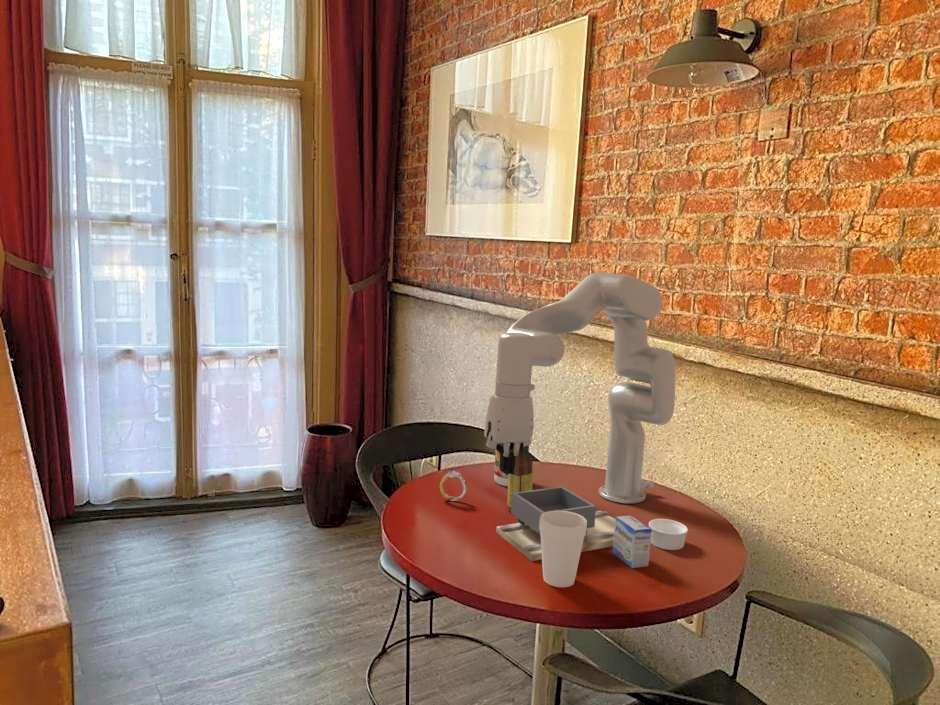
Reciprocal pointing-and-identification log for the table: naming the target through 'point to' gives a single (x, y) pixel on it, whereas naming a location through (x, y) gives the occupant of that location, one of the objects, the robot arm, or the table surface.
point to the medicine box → (632, 541)
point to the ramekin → (668, 534)
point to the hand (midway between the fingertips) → (506, 472)
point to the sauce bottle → (520, 475)
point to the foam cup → (561, 546)
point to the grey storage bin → (549, 505)
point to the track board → (531, 540)
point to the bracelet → (453, 475)
